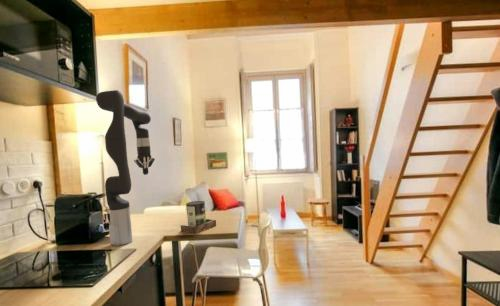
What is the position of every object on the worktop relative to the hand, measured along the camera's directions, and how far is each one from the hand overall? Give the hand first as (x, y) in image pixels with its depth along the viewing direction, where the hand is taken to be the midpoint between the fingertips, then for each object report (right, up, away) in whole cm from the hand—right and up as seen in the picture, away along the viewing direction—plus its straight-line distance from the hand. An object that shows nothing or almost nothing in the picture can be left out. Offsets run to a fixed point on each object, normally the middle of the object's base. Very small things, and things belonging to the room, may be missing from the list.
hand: (145, 174), depth 169 cm
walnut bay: (+35, -29, -14) cm, 47 cm away
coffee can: (+34, -29, -13) cm, 46 cm away
